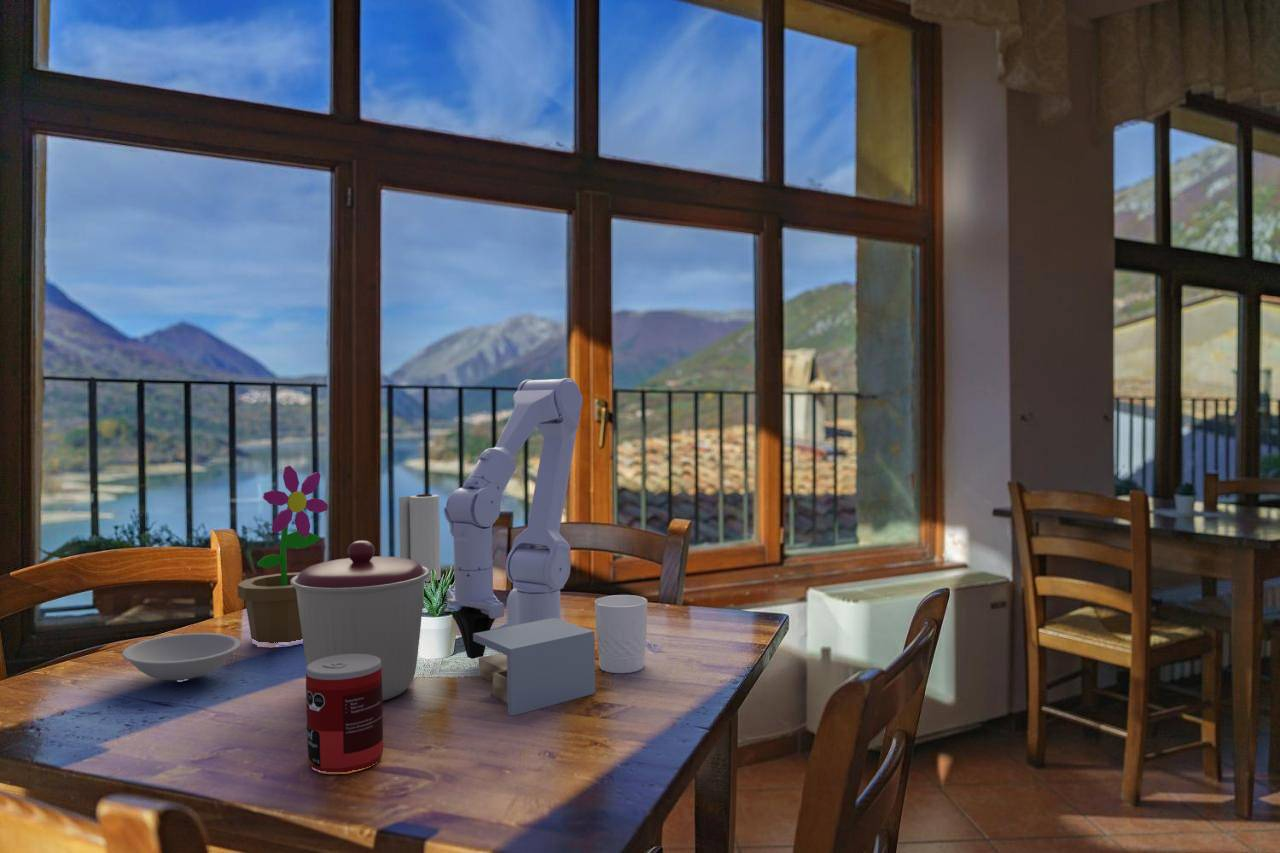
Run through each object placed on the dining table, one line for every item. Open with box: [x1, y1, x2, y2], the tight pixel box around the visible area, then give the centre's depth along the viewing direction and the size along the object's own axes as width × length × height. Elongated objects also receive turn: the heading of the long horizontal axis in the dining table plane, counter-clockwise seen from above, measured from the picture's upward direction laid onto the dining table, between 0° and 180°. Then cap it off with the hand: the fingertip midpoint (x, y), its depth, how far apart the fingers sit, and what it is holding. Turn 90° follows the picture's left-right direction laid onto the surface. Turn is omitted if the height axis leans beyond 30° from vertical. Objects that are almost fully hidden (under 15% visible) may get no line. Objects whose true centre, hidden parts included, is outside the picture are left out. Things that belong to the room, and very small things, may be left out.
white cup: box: [594, 594, 648, 674], centre depth 126 cm, size 8×8×10 cm
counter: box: [473, 618, 596, 717], centre depth 114 cm, size 10×13×8 cm
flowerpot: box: [237, 465, 329, 643], centre depth 144 cm, size 14×14×30 cm
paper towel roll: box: [398, 493, 442, 582], centre depth 175 cm, size 7×6×21 cm
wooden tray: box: [478, 652, 508, 704], centre depth 118 cm, size 16×9×4 cm, turn 39°
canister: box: [290, 540, 430, 702], centre depth 116 cm, size 18×18×21 cm
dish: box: [121, 632, 241, 681], centre depth 122 cm, size 18×14×5 cm
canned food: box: [305, 654, 384, 772], centre depth 93 cm, size 8×8×11 cm
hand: (475, 656), depth 128 cm, fingers closed
